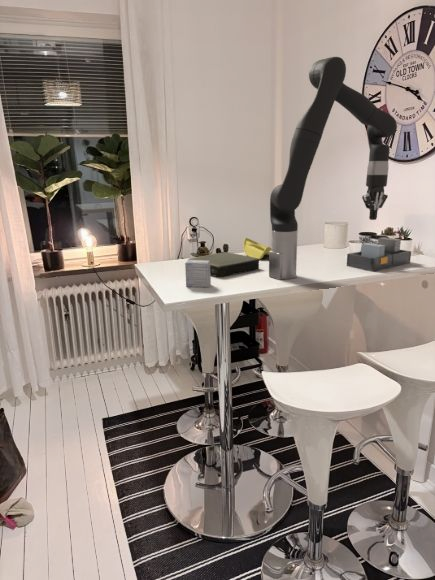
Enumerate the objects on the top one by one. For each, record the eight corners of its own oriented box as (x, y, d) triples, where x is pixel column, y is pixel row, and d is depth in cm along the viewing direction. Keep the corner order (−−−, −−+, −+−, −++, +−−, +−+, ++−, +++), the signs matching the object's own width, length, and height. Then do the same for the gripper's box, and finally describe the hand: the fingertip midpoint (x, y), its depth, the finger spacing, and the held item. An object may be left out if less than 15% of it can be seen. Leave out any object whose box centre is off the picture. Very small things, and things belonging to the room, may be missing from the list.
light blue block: (377, 266, 166) (379, 246, 163) (360, 263, 172) (362, 243, 170) (383, 265, 168) (384, 245, 165) (366, 262, 174) (367, 242, 172)
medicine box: (211, 284, 149) (210, 260, 147) (208, 288, 145) (207, 263, 142) (189, 283, 151) (188, 259, 148) (185, 287, 146) (184, 262, 144)
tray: (373, 271, 162) (375, 245, 160) (346, 265, 173) (348, 241, 170) (410, 263, 175) (413, 239, 172) (383, 258, 185) (385, 235, 182)
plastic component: (281, 253, 190) (265, 245, 185) (275, 268, 191) (258, 260, 186) (258, 243, 207) (242, 236, 202) (252, 257, 208) (236, 250, 202)
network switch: (263, 268, 172) (263, 256, 171) (225, 280, 156) (225, 267, 154) (220, 261, 188) (220, 250, 186) (182, 271, 171) (181, 259, 170)
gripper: (374, 173, 155) (370, 221, 159) (396, 173, 162) (391, 219, 166) (357, 173, 161) (353, 219, 165) (379, 173, 168) (375, 217, 172)
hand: (372, 219), depth 166 cm, fingers closed
